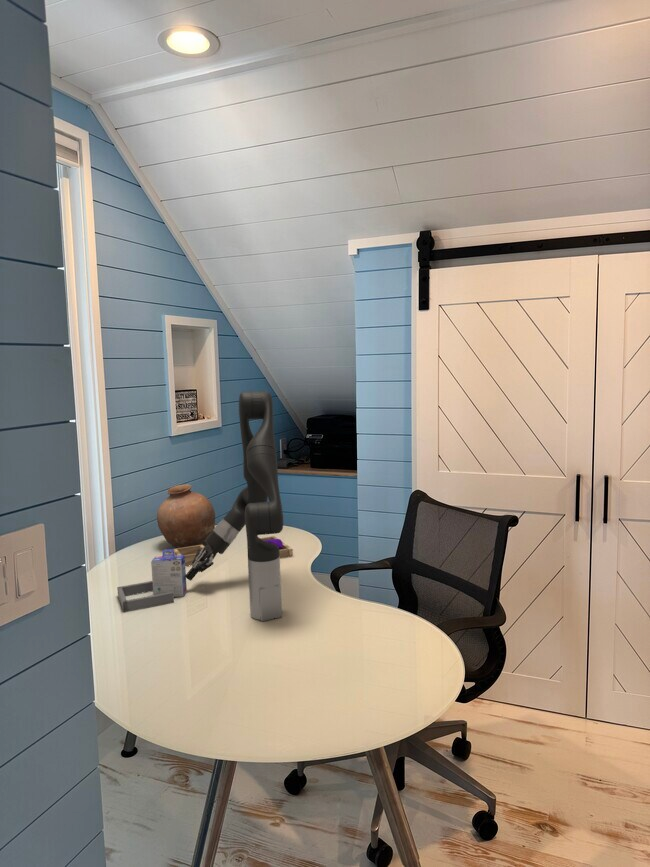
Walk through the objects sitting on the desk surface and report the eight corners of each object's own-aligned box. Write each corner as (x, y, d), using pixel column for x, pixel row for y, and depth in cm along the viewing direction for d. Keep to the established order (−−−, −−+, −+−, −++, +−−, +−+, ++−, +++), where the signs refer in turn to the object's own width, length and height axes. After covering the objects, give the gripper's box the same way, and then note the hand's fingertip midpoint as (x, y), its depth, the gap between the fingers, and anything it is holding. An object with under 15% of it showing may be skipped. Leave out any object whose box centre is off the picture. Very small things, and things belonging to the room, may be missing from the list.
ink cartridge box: (187, 590, 196) (185, 547, 194) (184, 596, 191) (181, 552, 189) (157, 591, 196) (154, 548, 194) (153, 598, 190) (150, 554, 189)
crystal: (263, 536, 242) (286, 539, 231) (264, 548, 243) (288, 552, 232) (253, 538, 239) (276, 542, 228) (254, 551, 239) (278, 555, 228)
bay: (174, 602, 187) (173, 592, 186) (123, 612, 180) (123, 602, 180) (165, 587, 200) (164, 578, 199) (117, 596, 193) (117, 587, 193)
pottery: (224, 538, 255) (220, 480, 252) (203, 555, 232) (200, 492, 229) (173, 537, 259) (170, 480, 256) (148, 554, 236) (144, 491, 233)
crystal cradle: (292, 556, 227) (292, 548, 227) (268, 560, 223) (267, 553, 223) (273, 542, 246) (273, 535, 245) (250, 546, 241) (250, 539, 241)
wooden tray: (210, 562, 223) (209, 552, 223) (180, 567, 219) (179, 557, 218) (202, 554, 234) (202, 544, 233) (173, 559, 229) (173, 549, 228)
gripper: (208, 525, 204) (174, 566, 200) (219, 534, 192) (183, 578, 188) (225, 537, 207) (191, 578, 203) (236, 548, 195) (201, 591, 191)
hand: (187, 578), depth 196 cm, fingers closed
